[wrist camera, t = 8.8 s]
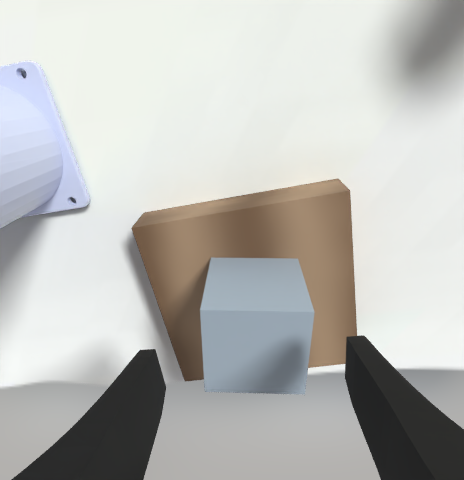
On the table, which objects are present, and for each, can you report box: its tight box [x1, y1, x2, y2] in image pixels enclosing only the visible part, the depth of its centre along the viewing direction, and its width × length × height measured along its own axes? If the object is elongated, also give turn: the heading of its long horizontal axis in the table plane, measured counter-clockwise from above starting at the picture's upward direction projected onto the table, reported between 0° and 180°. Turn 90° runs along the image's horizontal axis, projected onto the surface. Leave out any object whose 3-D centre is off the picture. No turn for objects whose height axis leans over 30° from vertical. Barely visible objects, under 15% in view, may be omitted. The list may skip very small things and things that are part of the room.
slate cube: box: [200, 258, 314, 394], centre depth 18 cm, size 5×5×5 cm
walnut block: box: [132, 179, 357, 381], centre depth 22 cm, size 12×12×3 cm
